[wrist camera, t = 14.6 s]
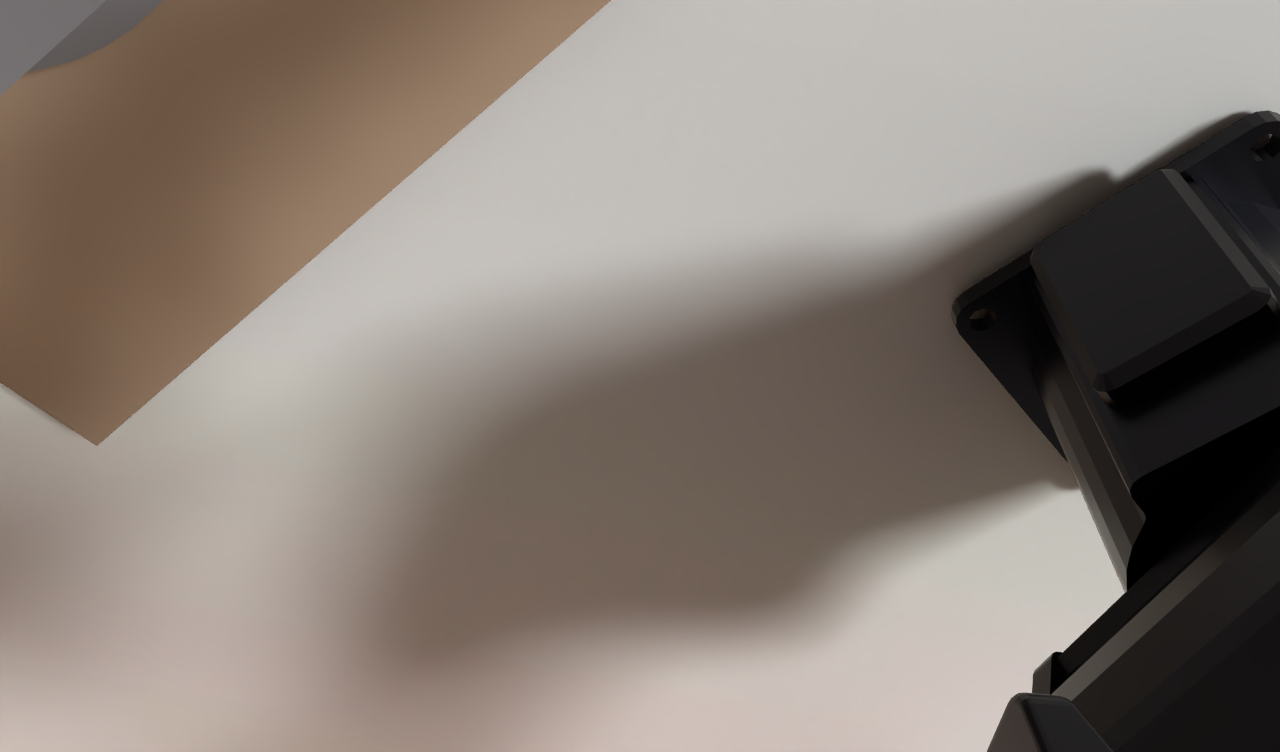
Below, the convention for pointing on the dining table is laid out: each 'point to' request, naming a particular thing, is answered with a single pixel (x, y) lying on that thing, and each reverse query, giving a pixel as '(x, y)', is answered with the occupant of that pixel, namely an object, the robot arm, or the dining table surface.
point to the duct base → (217, 168)
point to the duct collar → (35, 32)
